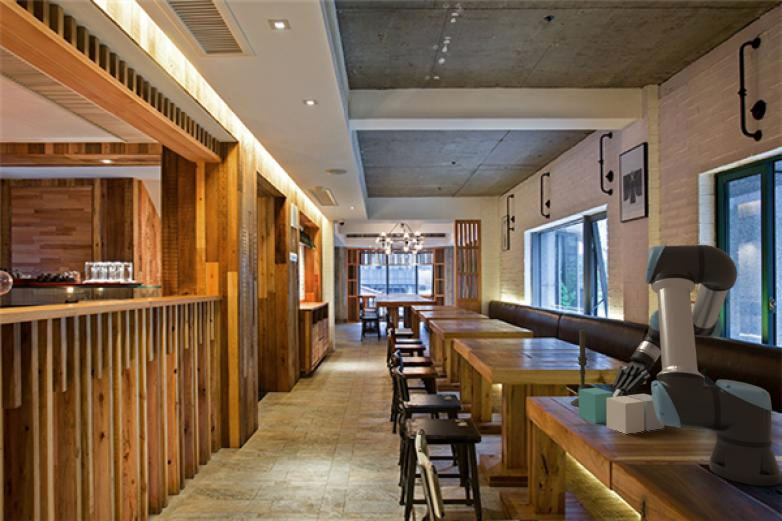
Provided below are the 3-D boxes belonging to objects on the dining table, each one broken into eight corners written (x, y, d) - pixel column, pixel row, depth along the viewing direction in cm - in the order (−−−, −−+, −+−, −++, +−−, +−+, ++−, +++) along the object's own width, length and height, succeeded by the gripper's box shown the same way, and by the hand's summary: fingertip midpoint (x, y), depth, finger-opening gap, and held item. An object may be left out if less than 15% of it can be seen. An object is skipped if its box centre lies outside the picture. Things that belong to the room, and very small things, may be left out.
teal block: (596, 415, 185) (596, 387, 185) (613, 421, 177) (613, 392, 177) (579, 417, 182) (578, 389, 182) (595, 423, 174) (595, 394, 175)
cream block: (624, 425, 173) (624, 395, 173) (644, 432, 165) (643, 401, 165) (606, 427, 170) (606, 397, 170) (625, 434, 162) (625, 403, 162)
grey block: (644, 422, 176) (644, 393, 176) (664, 429, 168) (664, 398, 169) (627, 424, 173) (626, 395, 173) (646, 431, 165) (646, 401, 166)
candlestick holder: (599, 404, 199) (598, 328, 200) (589, 409, 193) (589, 330, 193) (576, 400, 205) (575, 326, 206) (566, 404, 199) (566, 328, 200)
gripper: (665, 366, 183) (631, 417, 177) (636, 360, 196) (603, 407, 189) (654, 352, 182) (619, 403, 175) (625, 347, 194) (592, 394, 187)
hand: (611, 405), depth 182 cm, fingers closed
